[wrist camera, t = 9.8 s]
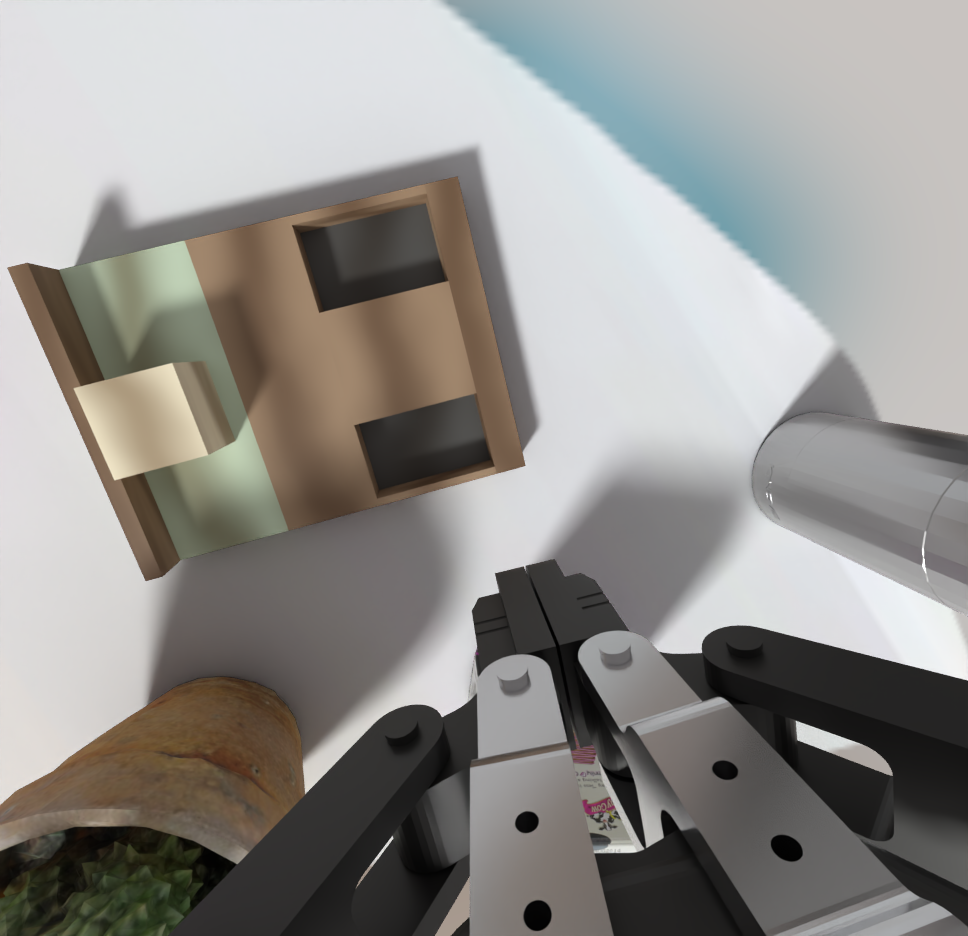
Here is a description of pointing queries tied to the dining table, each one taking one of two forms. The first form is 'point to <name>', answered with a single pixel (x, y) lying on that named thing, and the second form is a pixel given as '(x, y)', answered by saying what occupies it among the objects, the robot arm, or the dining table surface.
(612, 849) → the candy bar box
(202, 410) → the block
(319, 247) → the board
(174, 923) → the potted plant
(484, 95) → the dining table surface
